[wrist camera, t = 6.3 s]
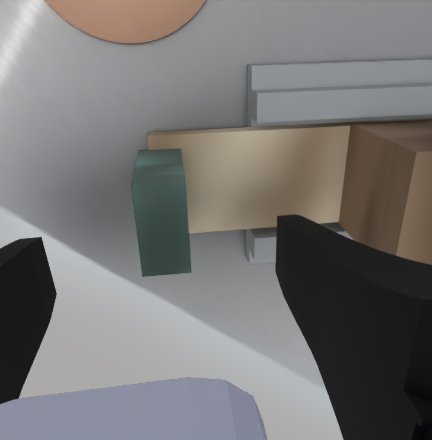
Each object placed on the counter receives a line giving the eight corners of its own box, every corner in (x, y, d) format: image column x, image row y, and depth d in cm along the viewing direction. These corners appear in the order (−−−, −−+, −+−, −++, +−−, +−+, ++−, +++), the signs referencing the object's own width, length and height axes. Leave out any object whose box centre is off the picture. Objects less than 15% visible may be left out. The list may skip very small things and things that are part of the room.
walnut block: (454, 118, 18) (552, 144, 13) (431, 216, 20) (509, 267, 15) (350, 123, 17) (416, 151, 13) (338, 223, 19) (391, 278, 15)
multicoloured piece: (459, 116, 19) (559, 141, 14) (438, 207, 21) (518, 256, 16) (138, 132, 17) (128, 166, 12) (149, 229, 19) (144, 290, 14)
